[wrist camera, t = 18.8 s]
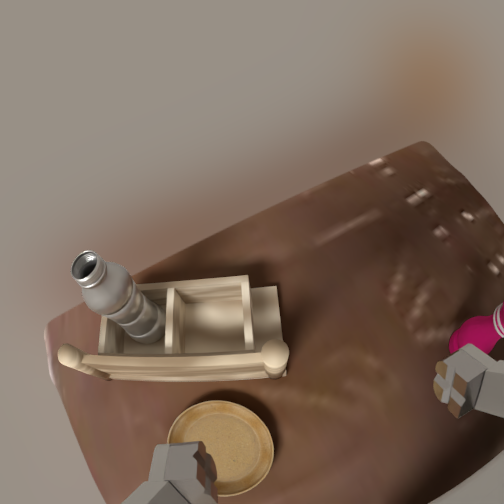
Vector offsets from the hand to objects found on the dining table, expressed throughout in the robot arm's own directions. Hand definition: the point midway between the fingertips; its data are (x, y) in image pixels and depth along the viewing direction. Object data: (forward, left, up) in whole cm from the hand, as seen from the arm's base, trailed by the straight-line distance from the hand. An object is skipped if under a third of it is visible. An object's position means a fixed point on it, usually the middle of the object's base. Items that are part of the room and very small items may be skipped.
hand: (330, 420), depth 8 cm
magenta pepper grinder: (+5, -31, -34) cm, 46 cm away
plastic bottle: (+15, +20, -32) cm, 41 cm away
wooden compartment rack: (+14, +15, -34) cm, 39 cm away
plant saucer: (-4, +10, -34) cm, 36 cm away
